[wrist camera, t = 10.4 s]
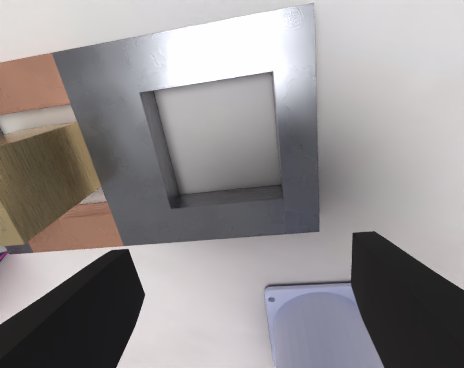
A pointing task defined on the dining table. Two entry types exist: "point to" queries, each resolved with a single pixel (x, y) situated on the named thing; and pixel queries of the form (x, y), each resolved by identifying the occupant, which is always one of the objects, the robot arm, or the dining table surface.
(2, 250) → the candy bar box
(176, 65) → the grey flat frame piece
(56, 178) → the light brown rectangular block
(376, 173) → the dining table surface
